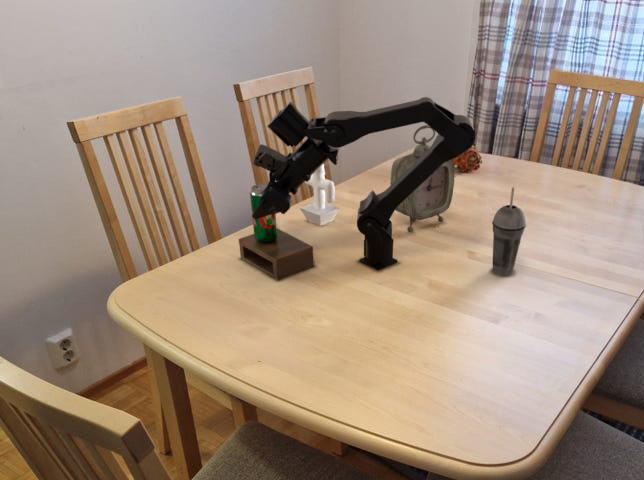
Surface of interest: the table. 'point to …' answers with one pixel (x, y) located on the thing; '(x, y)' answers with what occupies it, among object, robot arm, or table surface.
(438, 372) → the table surface
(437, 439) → the table surface
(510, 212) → the beverage cup
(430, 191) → the tabletop clock
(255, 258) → the shelf
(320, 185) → the figurine
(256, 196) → the soda can
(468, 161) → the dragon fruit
